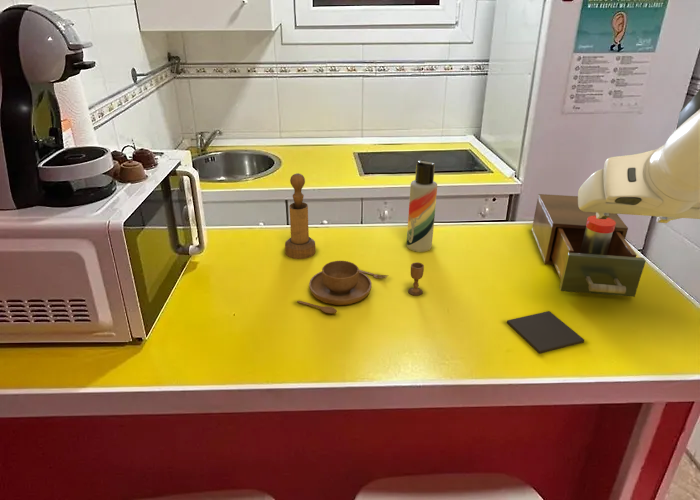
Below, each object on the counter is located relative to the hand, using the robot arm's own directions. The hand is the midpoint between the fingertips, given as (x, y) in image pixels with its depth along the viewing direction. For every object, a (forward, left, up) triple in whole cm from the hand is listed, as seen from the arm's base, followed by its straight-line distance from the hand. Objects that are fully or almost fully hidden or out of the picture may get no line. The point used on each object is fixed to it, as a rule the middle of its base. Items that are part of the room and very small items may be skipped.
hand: (630, 216), depth 86 cm
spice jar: (-6, -10, -17) cm, 21 cm away
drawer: (-5, -9, -18) cm, 21 cm away
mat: (+14, +2, -19) cm, 24 cm away
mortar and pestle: (+46, -40, -19) cm, 64 cm away
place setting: (+40, -19, -19) cm, 49 cm away
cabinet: (-12, -22, -19) cm, 32 cm away
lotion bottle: (+20, -34, -19) cm, 44 cm away
